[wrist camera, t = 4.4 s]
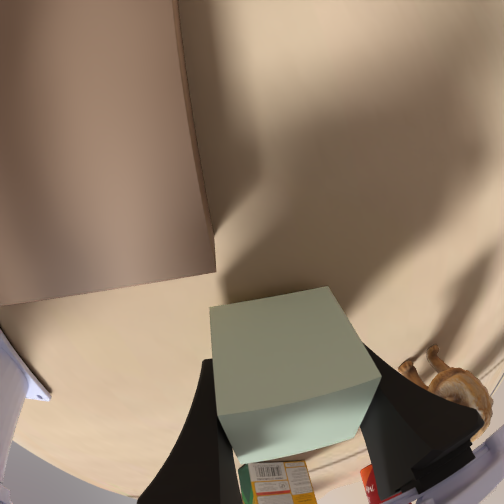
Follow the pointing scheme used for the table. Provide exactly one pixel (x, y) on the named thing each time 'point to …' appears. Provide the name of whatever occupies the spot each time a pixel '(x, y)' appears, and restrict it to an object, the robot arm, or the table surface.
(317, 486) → the table surface
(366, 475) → the paper cup
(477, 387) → the tan animal figurine
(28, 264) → the walnut block
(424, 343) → the table surface
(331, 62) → the table surface
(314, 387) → the sage cube
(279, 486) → the crayon box
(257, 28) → the table surface
